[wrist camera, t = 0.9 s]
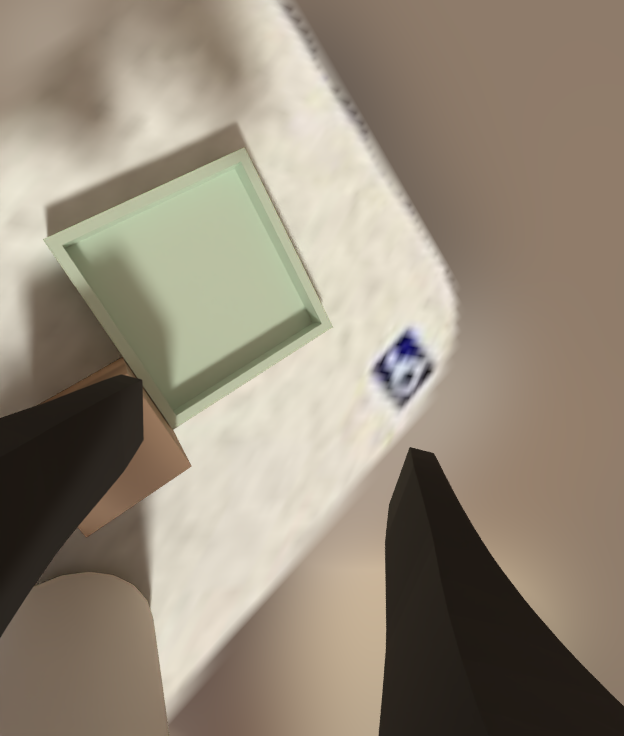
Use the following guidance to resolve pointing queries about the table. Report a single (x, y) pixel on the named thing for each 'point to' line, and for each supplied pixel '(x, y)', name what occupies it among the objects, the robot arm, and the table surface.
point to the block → (135, 456)
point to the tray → (194, 284)
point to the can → (82, 662)
